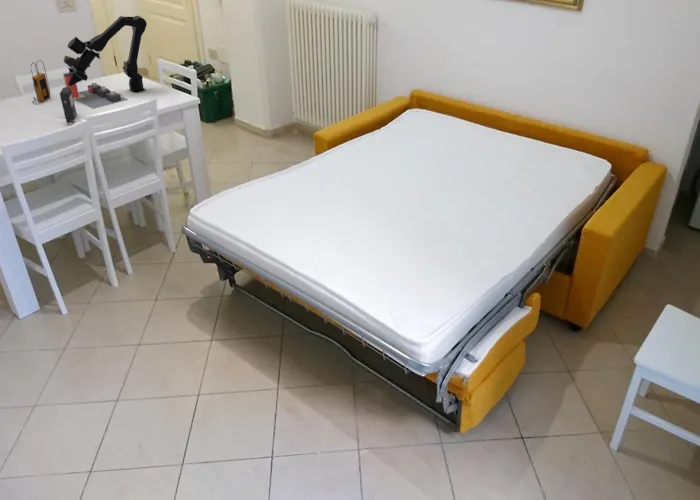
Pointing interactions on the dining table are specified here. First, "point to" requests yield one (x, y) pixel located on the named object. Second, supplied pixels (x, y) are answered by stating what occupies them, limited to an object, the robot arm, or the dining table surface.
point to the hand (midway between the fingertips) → (68, 84)
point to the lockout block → (74, 87)
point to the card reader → (68, 104)
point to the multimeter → (41, 85)
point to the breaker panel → (98, 96)
